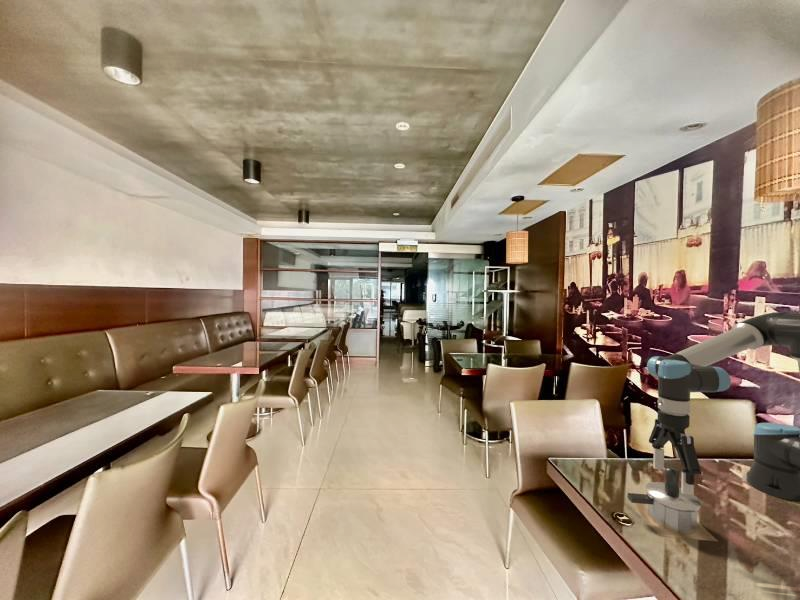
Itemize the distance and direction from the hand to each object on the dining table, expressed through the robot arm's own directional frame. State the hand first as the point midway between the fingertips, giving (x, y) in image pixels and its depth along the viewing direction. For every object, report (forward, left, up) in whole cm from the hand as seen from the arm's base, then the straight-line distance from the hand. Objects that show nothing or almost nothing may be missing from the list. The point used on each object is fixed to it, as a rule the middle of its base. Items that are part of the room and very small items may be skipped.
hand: (672, 480), depth 101 cm
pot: (+3, 0, -12) cm, 13 cm away
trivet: (0, 0, -13) cm, 13 cm away
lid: (0, 0, -5) cm, 5 cm away
